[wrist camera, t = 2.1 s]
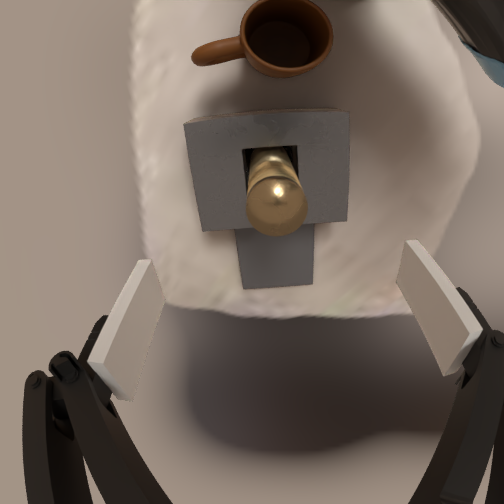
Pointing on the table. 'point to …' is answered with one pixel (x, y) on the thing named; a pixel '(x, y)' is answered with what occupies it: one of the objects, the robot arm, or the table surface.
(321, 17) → the mug
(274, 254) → the mat
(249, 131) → the housing
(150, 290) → the robot arm
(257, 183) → the gold metal cylinder
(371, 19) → the table surface
